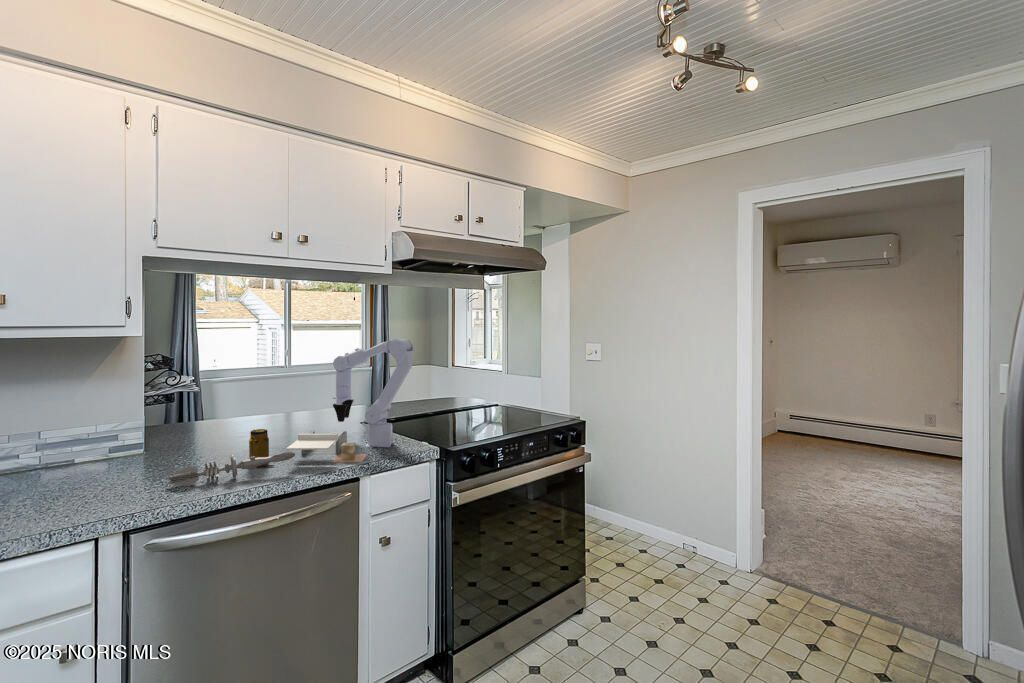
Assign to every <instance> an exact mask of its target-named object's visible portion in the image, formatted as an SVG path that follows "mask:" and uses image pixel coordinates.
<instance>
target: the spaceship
mask: <svg viewBox="0 0 1024 683" xmlns="http://www.w3.org/2000/svg"><path fill="white" fill-rule="evenodd" d="M295 456H296V454H295V452H293V451H290V452H289V451H288V452H287V451H286V452H282V453H276V454H274V455H272V456H269V457H258V458H255V457H254V456H253V457H251V458H250V459H249V458H248V459H243V460H241V461H240V462H238V463H237V460H236V457H235V456H234V454H233V453H232V454H231V456H230V465H229V463H228V462H226V463H225V464H224V466H222V467H219V466H218V464H217V461H216V460H215V461H209V463H208V462H205V463H204V468H203V470H202V471H198V468H197V467H193V466H190V465H189V466H187V467H184V468H183V469H181V470H179V471H178V470H177V471H176V472H174V473H172V474H171V475H169V476H167V477H166V478H167V479H166V480H167V484H168V485H174V486H187V487H189V486H190V485H192V486H193V485H194V484H196V483H197V482H199V480H200V479H199V477H200V476H201V477H202V476H204V477H205V478H206V481H207V483H209V482H210V481H211V482H214V481H218V480H219V474H220V473H221V472H224V471H225V473H226V474H229V473H230V471H231V472H232V478H234V480H237V476H238V469H239V470H247V469H251V470H255V469H257V468H256V467H257V466H260V465H263V464H266V463H268V464H269V463H278V462H279V463H280V462H284V461H288V460H290V459H293V458H294V457H295ZM266 465H267V464H266Z"/></svg>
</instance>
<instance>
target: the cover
mask: <svg viewBox="0 0 1024 683" xmlns="http://www.w3.org/2000/svg"><path fill="white" fill-rule="evenodd" d="M338 437H339V434H338V433H315V434H309V433H298V434H297V439H296V440H295V441H294V442H293V443H291V444H290V445H289V446H287V447H286V450H287V451H288V450H290V451H291V450H293V451H294V450H296V451H297V450H299V451H300V450H328V449H329V448H330V447H331V446H332V445H335V444H336V441H337V440H338Z"/></svg>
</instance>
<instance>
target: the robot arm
mask: <svg viewBox="0 0 1024 683" xmlns="http://www.w3.org/2000/svg"><path fill="white" fill-rule="evenodd" d="M414 351H415V347H414V346H413V343H412V341H411V339H409V338H404V337H403V338H400V339H396V338H395V339H392V340H387V341H383V342H381V343H378V344H377V345H374V346H372V347H370V348H368V349H364V348H360V347H359V348H358V347H356V348H354V351H351V352H346V353H344V355H338V356H337V357H335V358H334V359H333V362H332V365H333V366H332V367H333V368H334V369H335V396H332V399H334V400H335V402H336V403H333V404H332V407H333V409H334V410H335V414H336V418H337V422H340V423H342V422H343V423H344V421H345V418H346V419H347V418H349V416H350V413H351V407H352V405H353V403H354V399H353V398H352V369H353V368H355V367H358V366H360V365H361V364H366V363H368V360H369V359H370V358H371V357H374V356H377V355H379V354H383V353H386V354H388V353H390V355H391V356H392V358H393V359H394V361H395V362H396V367H395V369H394V371H393V372H392V374H391V376H390V378H389V379H388V381H387V383H386V385H385V386H384V388H383V390H382V391H381V393H380V394H379V397H378V398H377V399H376V400H375V402H374V403H372V405H371V406H370V407H369V408H368V409H366V410H365V413H364V419H365V421H366V422H367V443H366V444H365V448H366V447H380V448H390V447H391V446H392V444H393V443H394V441H393V439H394V438H393V423H391V422H387V418H389V416H390V410H391V408H392V402H393V400H394V398H395V397H396V395H397V393H398V392H399V390H400V389H401V386H402V385H403V383H404V381H405V379H406V378H407V376H408V374H409V373H410V371H411V369H412V367H413V360H414V358H413V357H414V356H413V355H414V354H413V353H414Z"/></svg>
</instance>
